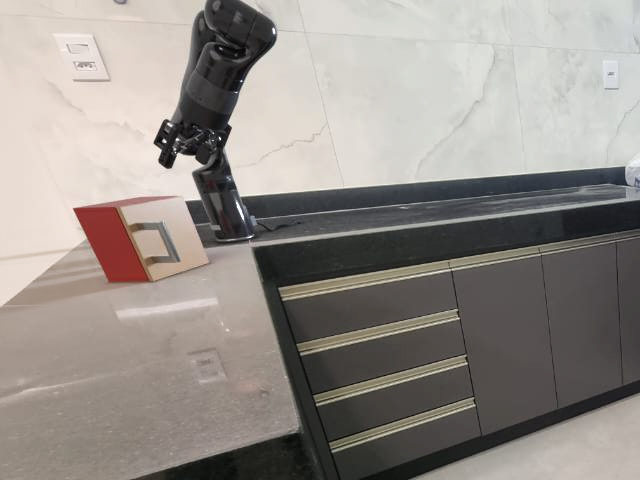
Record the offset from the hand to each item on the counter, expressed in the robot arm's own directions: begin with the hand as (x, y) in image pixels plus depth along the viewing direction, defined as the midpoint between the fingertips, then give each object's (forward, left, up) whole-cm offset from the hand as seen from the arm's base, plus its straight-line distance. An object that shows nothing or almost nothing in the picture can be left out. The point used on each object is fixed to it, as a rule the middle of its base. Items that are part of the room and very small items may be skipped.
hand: (183, 164), depth 109 cm
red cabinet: (-6, -23, -24) cm, 34 cm away
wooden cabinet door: (-6, -14, -24) cm, 29 cm away
